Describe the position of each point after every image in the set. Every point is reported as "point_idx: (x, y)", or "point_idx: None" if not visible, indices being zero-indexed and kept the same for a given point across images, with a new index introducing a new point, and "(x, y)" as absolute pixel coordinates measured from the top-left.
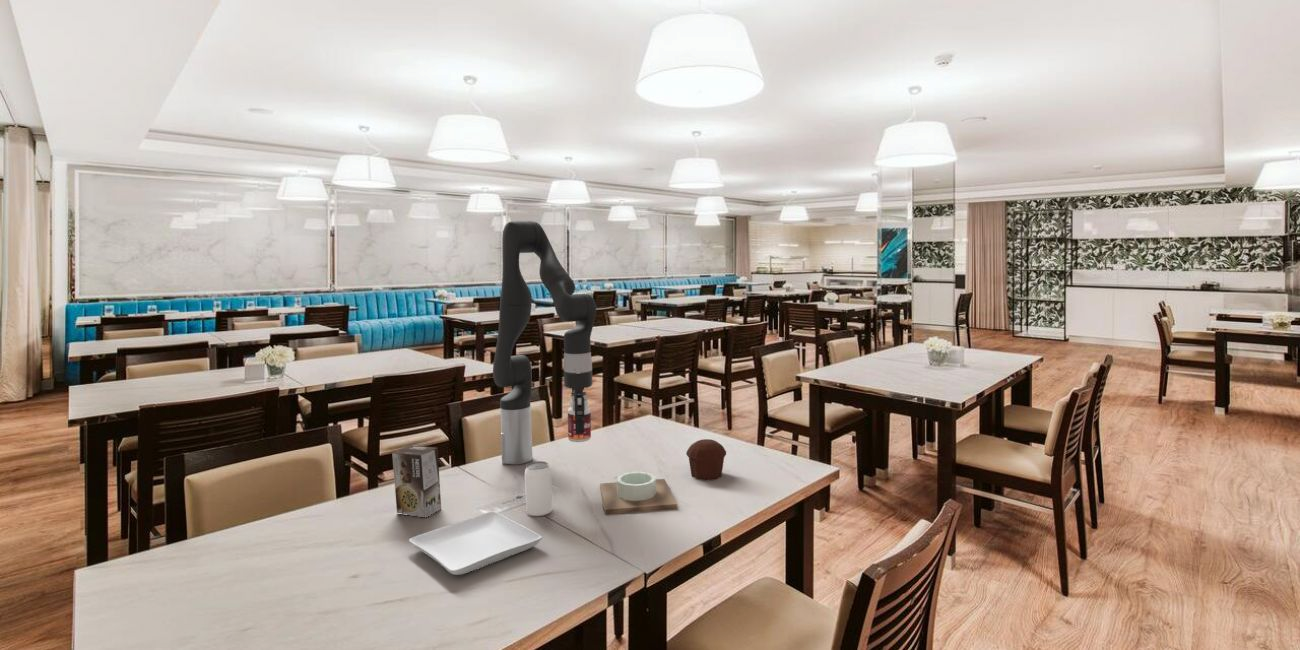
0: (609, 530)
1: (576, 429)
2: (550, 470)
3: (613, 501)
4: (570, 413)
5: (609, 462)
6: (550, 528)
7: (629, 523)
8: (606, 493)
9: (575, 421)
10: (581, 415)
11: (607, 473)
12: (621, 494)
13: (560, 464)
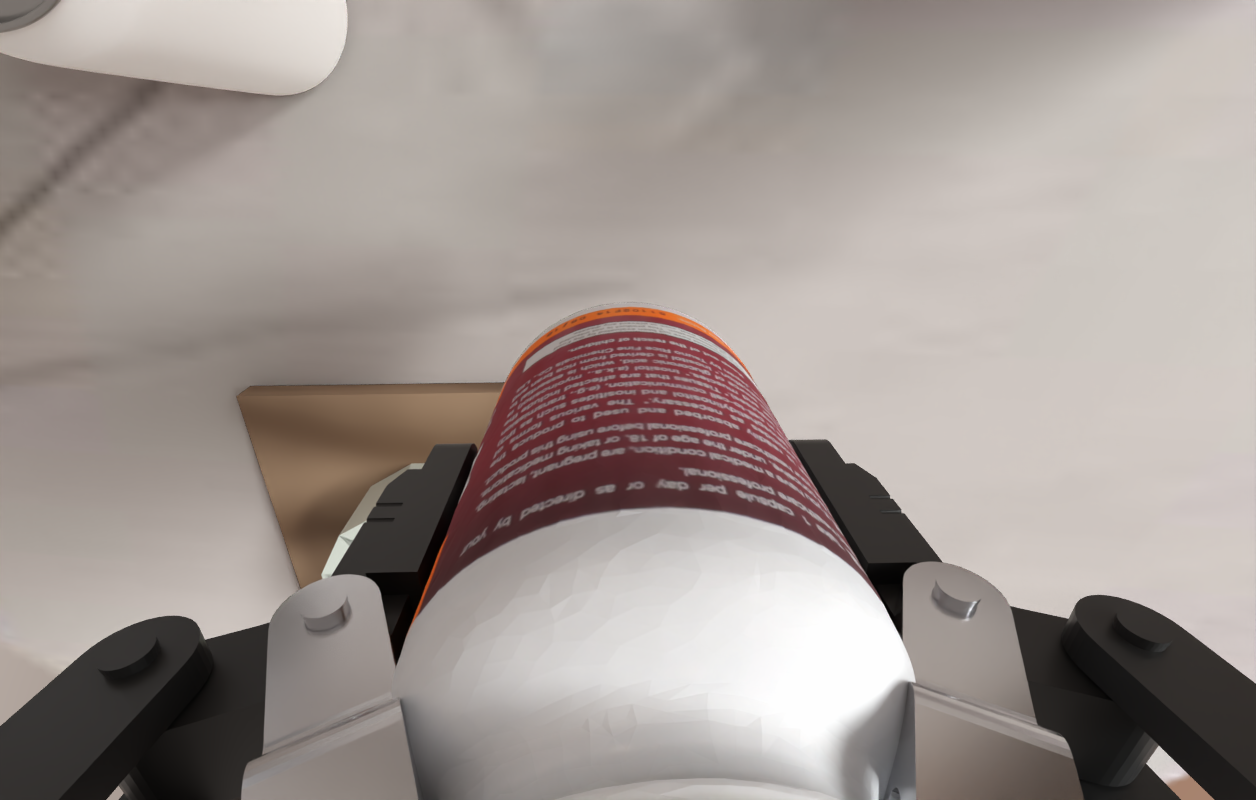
0: (65, 394)
1: (425, 479)
2: (33, 60)
3: (348, 440)
4: (469, 581)
5: (971, 445)
6: (16, 82)
7: (161, 477)
8: (459, 415)
9: (375, 557)
10: (131, 797)
11: (809, 426)
12: (382, 487)
13: (1092, 159)
